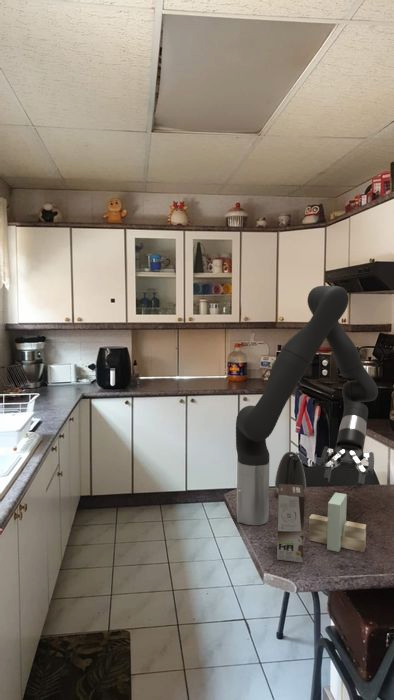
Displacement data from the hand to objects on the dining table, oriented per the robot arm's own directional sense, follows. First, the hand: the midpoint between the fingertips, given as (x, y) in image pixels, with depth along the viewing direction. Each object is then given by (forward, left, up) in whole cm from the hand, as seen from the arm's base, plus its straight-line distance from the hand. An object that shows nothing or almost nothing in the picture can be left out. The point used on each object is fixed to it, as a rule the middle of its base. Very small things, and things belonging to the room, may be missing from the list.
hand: (343, 483), depth 127 cm
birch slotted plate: (-3, -6, -14) cm, 16 cm away
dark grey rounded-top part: (-10, +28, -14) cm, 33 cm away
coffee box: (-16, -12, -14) cm, 25 cm away
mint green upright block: (-3, -6, -14) cm, 16 cm away
